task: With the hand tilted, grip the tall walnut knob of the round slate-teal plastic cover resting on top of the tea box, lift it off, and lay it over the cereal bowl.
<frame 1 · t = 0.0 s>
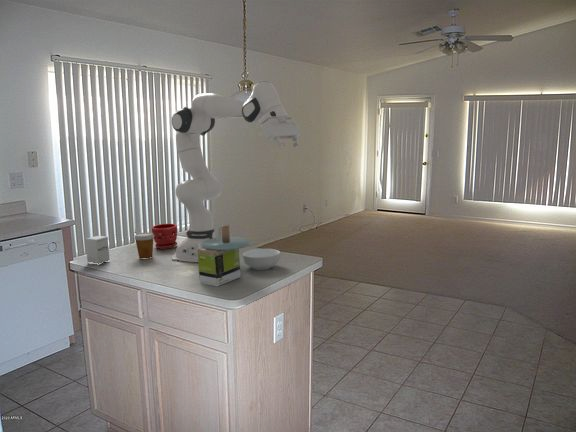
hand: (289, 147, 199), 54 cm above the table, tool tilted 30°, fingers open, 8 cm apart
glass of beer: (145, 258, 245), on the table
tea box: (220, 281, 205), on the table, touching cover
supplement box: (98, 263, 237), on the table
cover: (226, 244, 205), point 15 cm above the table, touching tea box
plant pot: (165, 247, 266), on the table
cereal bowl: (262, 268, 223), on the table
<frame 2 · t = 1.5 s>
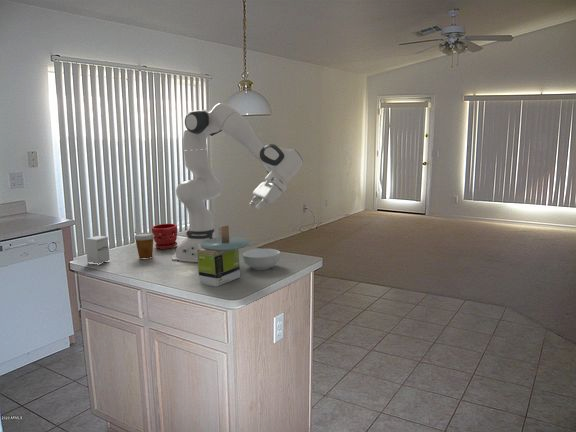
hand: (253, 207, 207), 30 cm above the table, tool tilted 45°, fingers open, 8 cm apart
nothing on the table moved.
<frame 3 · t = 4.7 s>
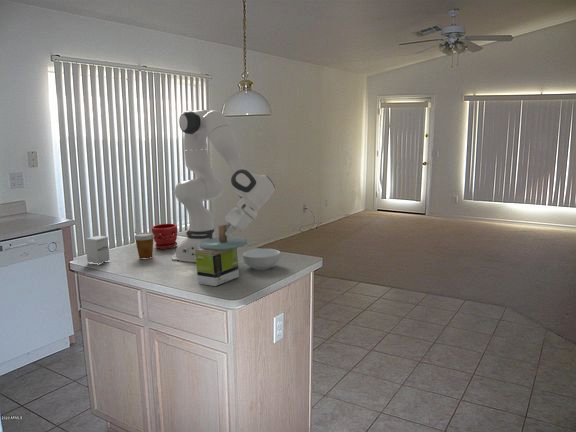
hand: (224, 233, 204), 19 cm above the table, tool tilted 45°, fingers closed on cover, 3 cm apart
cover: (223, 244, 205), point 15 cm above the table, touching gripper, tea box
everything else where it was.
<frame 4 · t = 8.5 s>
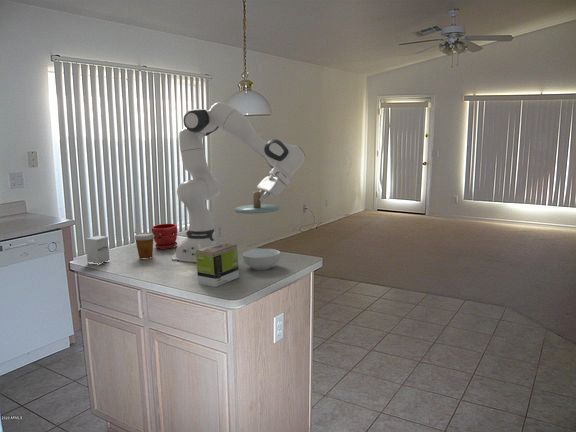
hand: (258, 200, 217), 31 cm above the table, tool tilted 45°, fingers closed on cover, 3 cm apart
tea box: (218, 281, 205), on the table
cover: (257, 209, 218), point 27 cm above the table, touching gripper
everything else where it was.
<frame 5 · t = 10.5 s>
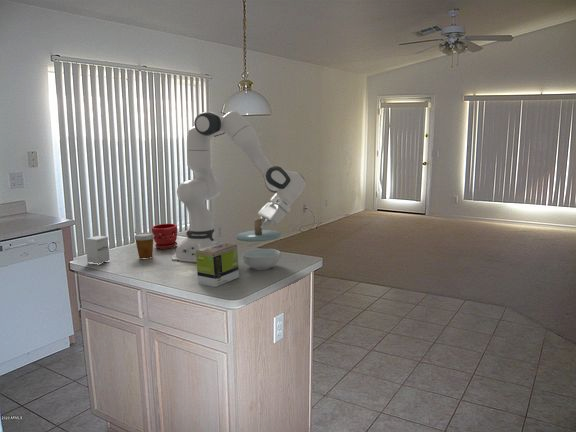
hand: (259, 227, 219), 19 cm above the table, tool tilted 45°, fingers closed on cover, 3 cm apart
cover: (258, 236, 220), point 14 cm above the table, touching gripper
everything else where it was.
when the fingers open (13 cm above the table, at t = 12.0 s): cover drops 1 cm, resting on cereal bowl.
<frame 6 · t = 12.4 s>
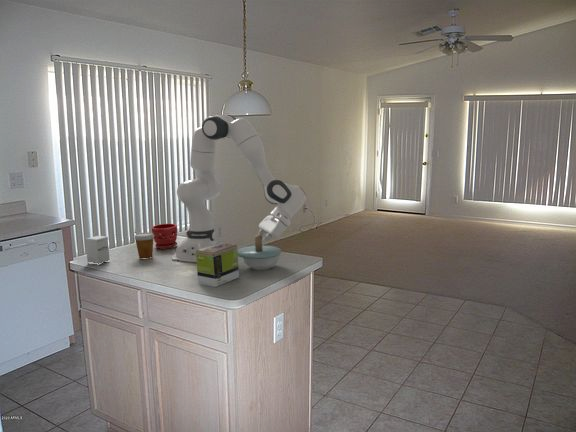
hand: (259, 240, 220), 13 cm above the table, tool tilted 45°, fingers open, 6 cm apart
cover: (259, 253, 221), point 7 cm above the table, touching cereal bowl
cereal bowl: (262, 268, 223), on the table, touching cover
everything else where it was.
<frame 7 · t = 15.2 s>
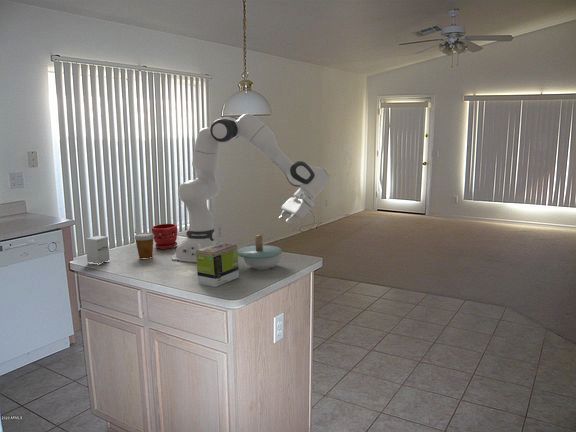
hand: (283, 221, 223), 20 cm above the table, tool tilted 45°, fingers open, 8 cm apart
nothing on the table moved.
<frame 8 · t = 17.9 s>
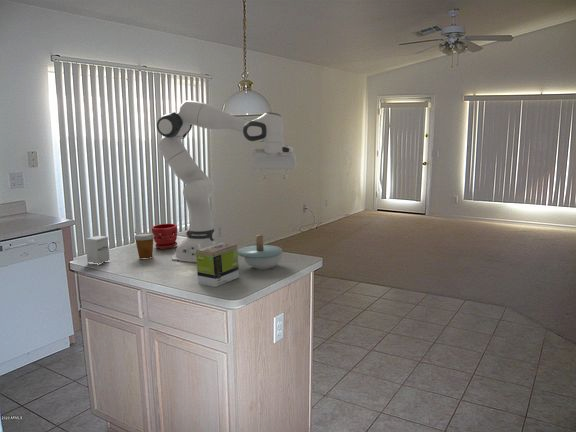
hand: (274, 179, 226), 39 cm above the table, tool pointing down, fingers open, 8 cm apart
nothing on the table moved.
at the end: cover 1.3 cm off-centre on the cereal bowl, point 7.2 cm above the cereal bowl's base; cover tilted 0°; the gripper is holding nothing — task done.
